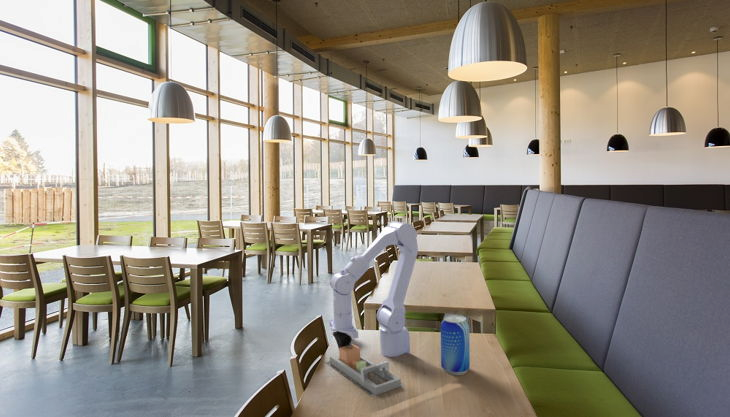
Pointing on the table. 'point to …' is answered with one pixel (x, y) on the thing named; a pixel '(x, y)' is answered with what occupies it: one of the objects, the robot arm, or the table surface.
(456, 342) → the beer can
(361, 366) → the pale green cube
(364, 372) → the gate
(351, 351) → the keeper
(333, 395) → the table surface
